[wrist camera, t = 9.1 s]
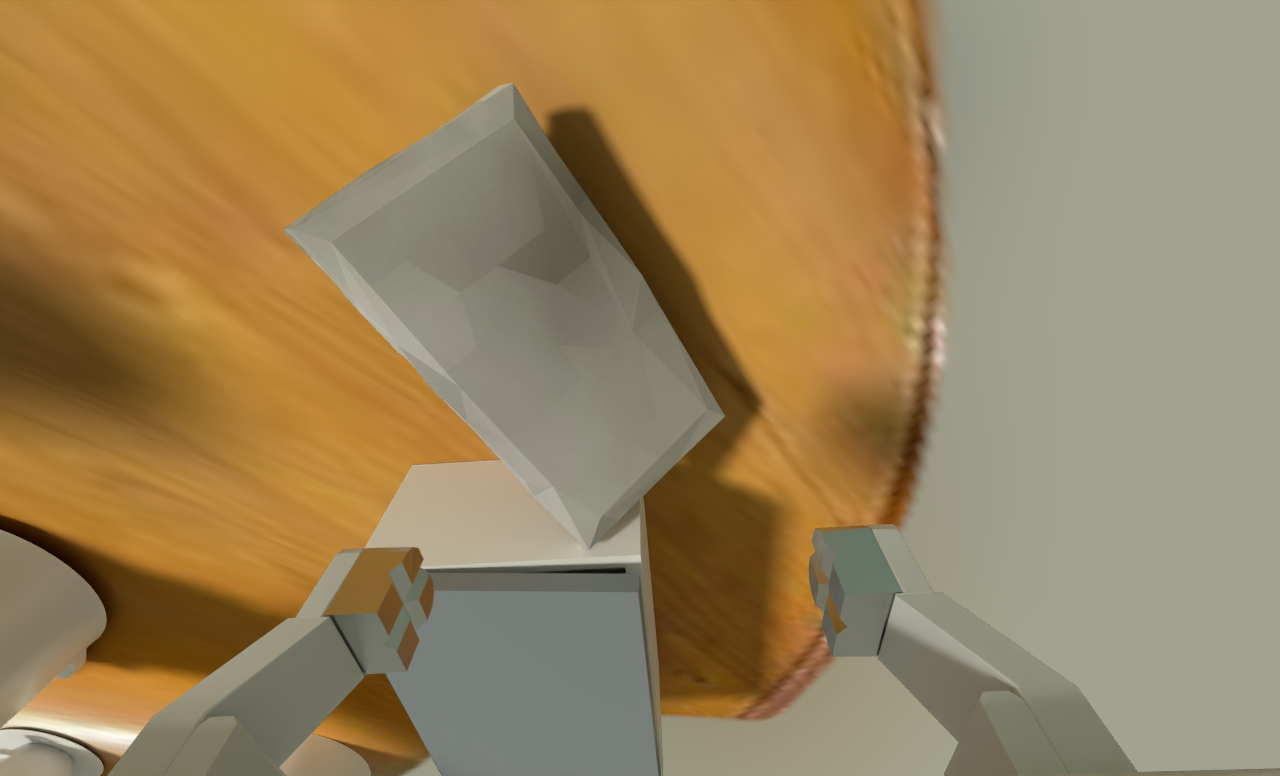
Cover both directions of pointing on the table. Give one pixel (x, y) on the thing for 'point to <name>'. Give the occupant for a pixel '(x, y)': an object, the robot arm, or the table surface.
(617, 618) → the lid
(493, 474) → the storage box
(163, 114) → the table surface
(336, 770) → the canister
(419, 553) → the robot arm
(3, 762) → the teacup
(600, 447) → the packaged product
